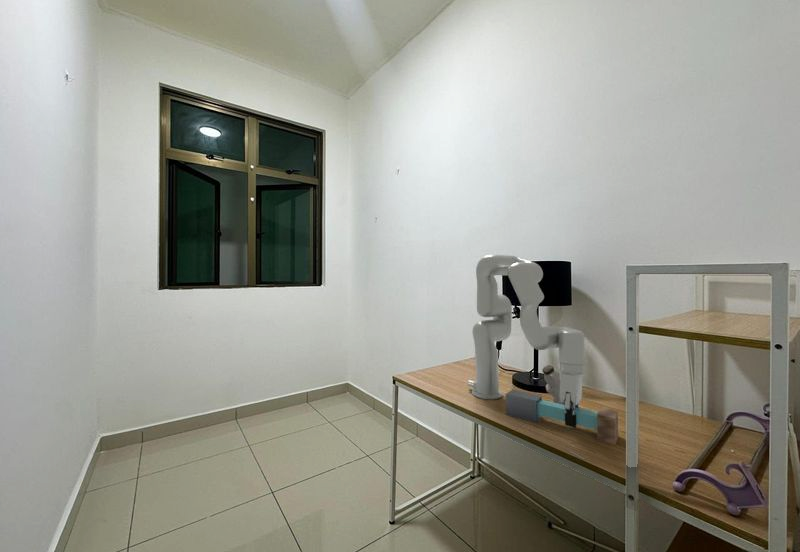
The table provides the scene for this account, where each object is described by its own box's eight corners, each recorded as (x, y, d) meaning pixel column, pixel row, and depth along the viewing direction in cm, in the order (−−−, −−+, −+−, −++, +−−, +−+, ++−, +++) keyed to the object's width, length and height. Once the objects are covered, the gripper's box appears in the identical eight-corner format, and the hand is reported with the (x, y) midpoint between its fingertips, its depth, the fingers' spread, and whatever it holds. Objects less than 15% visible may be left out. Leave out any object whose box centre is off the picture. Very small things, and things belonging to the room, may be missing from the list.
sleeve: (506, 414, 116) (505, 393, 116) (512, 409, 121) (512, 389, 121) (536, 423, 109) (536, 400, 109) (542, 417, 114) (541, 395, 114)
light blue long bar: (523, 411, 113) (523, 399, 113) (527, 407, 116) (527, 396, 116) (603, 431, 98) (603, 418, 98) (605, 427, 101) (605, 413, 101)
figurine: (544, 398, 132) (544, 361, 132) (572, 403, 127) (571, 365, 127) (541, 405, 124) (541, 366, 125) (571, 410, 119) (570, 370, 119)
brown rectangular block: (597, 440, 97) (597, 414, 97) (601, 431, 103) (600, 407, 103) (615, 445, 94) (614, 418, 95) (618, 436, 100) (617, 411, 100)
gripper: (565, 360, 114) (566, 412, 114) (552, 371, 101) (552, 429, 101) (589, 364, 109) (590, 418, 109) (578, 375, 96) (579, 436, 96)
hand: (572, 422), depth 105 cm, fingers closed on light blue long bar, 4 cm apart
